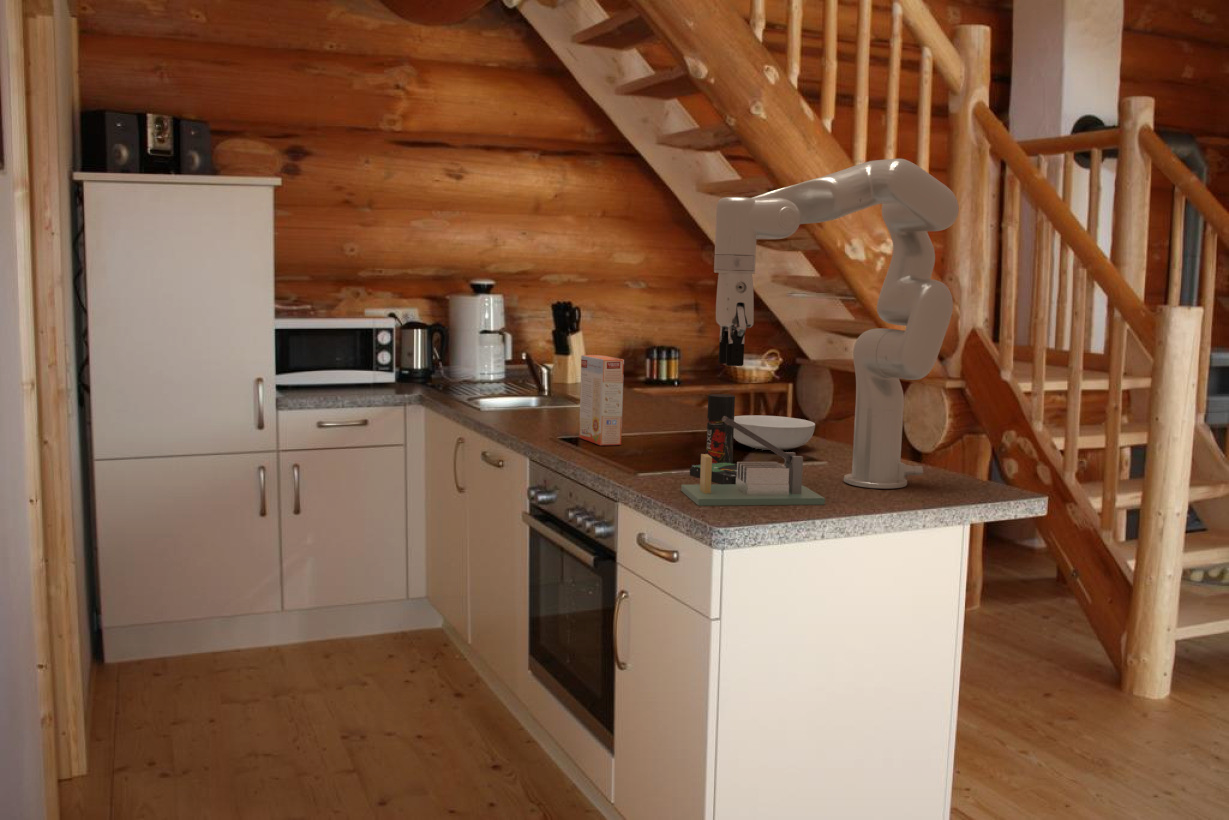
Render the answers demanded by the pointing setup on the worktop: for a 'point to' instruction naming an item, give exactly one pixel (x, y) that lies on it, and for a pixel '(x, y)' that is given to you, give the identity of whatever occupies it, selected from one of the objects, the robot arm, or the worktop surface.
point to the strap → (758, 439)
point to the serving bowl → (774, 431)
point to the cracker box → (601, 399)
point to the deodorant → (720, 427)
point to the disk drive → (719, 472)
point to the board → (732, 496)
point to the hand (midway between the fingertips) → (730, 363)
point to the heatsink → (762, 478)
